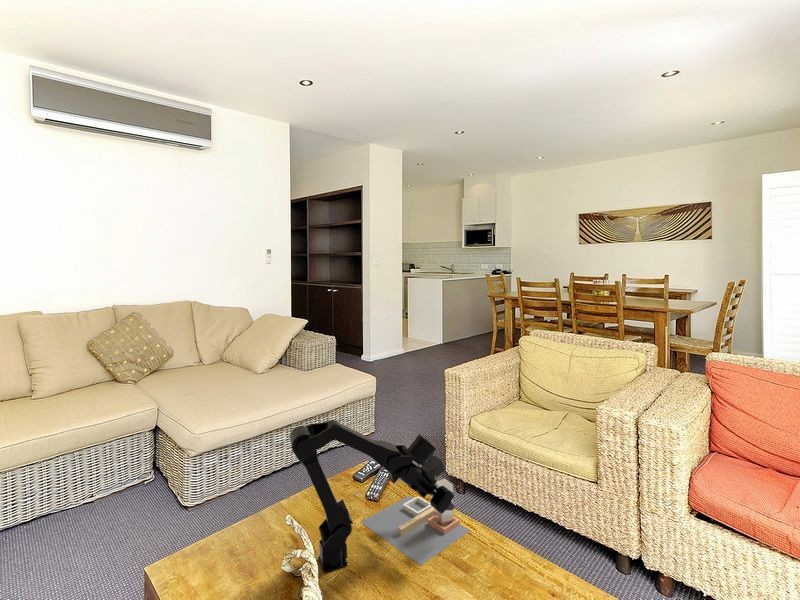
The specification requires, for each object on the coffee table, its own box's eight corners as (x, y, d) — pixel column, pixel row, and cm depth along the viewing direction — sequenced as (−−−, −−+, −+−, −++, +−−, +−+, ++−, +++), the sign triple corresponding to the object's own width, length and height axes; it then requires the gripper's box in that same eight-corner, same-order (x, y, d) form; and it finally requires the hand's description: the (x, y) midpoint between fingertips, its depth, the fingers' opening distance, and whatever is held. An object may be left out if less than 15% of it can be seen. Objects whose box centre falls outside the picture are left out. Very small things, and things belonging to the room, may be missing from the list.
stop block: (442, 529, 129) (441, 488, 127) (434, 522, 132) (434, 482, 131) (452, 525, 131) (452, 484, 130) (444, 518, 134) (444, 478, 133)
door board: (420, 570, 114) (420, 558, 114) (360, 526, 134) (359, 515, 133) (470, 535, 129) (470, 524, 128) (409, 499, 148) (409, 489, 147)
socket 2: (444, 534, 127) (444, 529, 127) (427, 524, 132) (427, 519, 132) (459, 524, 131) (459, 519, 131) (442, 514, 136) (442, 510, 136)
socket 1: (417, 517, 135) (417, 513, 135) (402, 508, 140) (402, 504, 140) (432, 509, 139) (432, 504, 139) (417, 500, 144) (417, 496, 144)
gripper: (448, 464, 118) (479, 491, 125) (411, 440, 134) (440, 465, 141) (424, 500, 115) (457, 526, 122) (389, 471, 131) (420, 495, 138)
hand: (443, 500), depth 131 cm, fingers open, 9 cm apart
